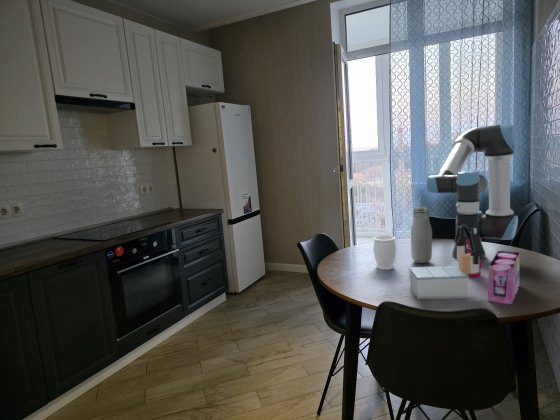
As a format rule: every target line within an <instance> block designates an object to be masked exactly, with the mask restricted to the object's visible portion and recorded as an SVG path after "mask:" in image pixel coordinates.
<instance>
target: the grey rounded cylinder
mask: <svg viewBox="0 0 560 420" xmlns="http://www.w3.org/2000/svg"><path fill="white" fill-rule="evenodd" d="M430 222H431V221H430V209H429V208H428V207H426V206H418V207H415V208H414V209H413V221H412V224H411V229H410V245H411V246H410V251H411V255H410V257H411V258H412V260H413V261H414V262H415V263H418V264H425V263H426V264H427V263H429V262H430V261H431V259H432V254H433V247H432V245H433V244H432V243H433V230H432V226H431V225H432V224H431V223H430Z"/></svg>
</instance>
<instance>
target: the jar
mask: <svg viewBox="0 0 560 420" xmlns="http://www.w3.org/2000/svg"><path fill="white" fill-rule="evenodd" d="M373 241H374V243H373V255H374V260H375V262H376V268H377V269H378V270H384V271H387V270H393V269H394V268H395V266H394V264H395V263H394V262H395V261H396V260H395V259H396V254H397V253H396V252H397V251H396V250H397V248H396V242H395V241H396V237H395V236H392V235H376V236H374V237H373Z"/></svg>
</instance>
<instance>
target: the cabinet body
mask: <svg viewBox="0 0 560 420" xmlns="http://www.w3.org/2000/svg"><path fill="white" fill-rule="evenodd" d="M468 279H469V278H454V279H452V278H451V279H423V280H417V279H416V277H415V276H414V275H413V274H412V272H411V271H410V270H409V288H410V290H411V291H412V293H413V295H414V296H415V298H416V299H417V300H419V301H420V300H421V301H422V300H451V299H455V300H457V299H468V295H469V294H468V290H469V289H468V287H469V286H468V285H469V284H468V282H469V280H468Z"/></svg>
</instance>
